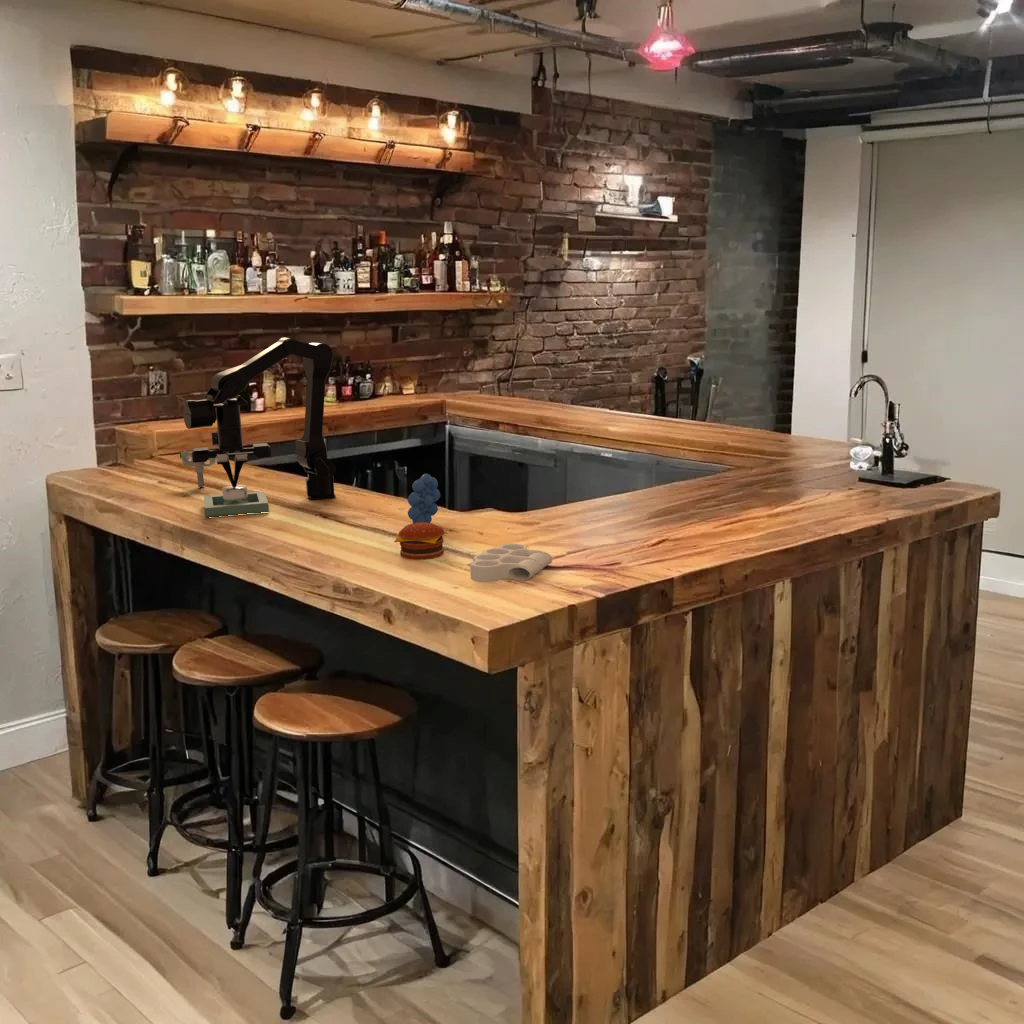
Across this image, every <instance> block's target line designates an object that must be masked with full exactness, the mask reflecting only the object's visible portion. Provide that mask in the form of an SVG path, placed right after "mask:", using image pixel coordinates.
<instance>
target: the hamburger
mask: <svg viewBox="0 0 1024 1024" xmlns="http://www.w3.org/2000/svg"><path fill="white" fill-rule="evenodd" d="M445 534H447V535H448V534H449V533H448V532H447V531H444V529H443V528H442V527H441V526H439V525H437V524H436V523H432V522H430V523H426V522H420V523H413V522H412V523H410V524H407V525H405V526H404V527H403V528H401V530H399V532H398V535H397V537H396V538H395V540H393V541H394V543H399V546H400V551H399V554H400V557H402V558H404V559H408V560H415V561H420V560H421V561H424V560H425V561H426V560H431V559H436V558H440V557H442V556H443V555H444V553H445V548H444V541H445V538H444V537H443V536H444V535H445Z"/></svg>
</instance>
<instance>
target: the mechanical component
mask: <svg viewBox="0 0 1024 1024" xmlns="http://www.w3.org/2000/svg"><path fill="white" fill-rule="evenodd" d="M179 458H180V459H181V461H182V465H183V466H185V467H194V472H195V473H196V479H197V488H198V487H203V486H204V487H205V481H204V472H205V467H210V466H212V465H215V463H217V459H216V458H209V459H208V460H207V461H209V463H207V462H197V463H193V459H192V450H185V451H181V452H179ZM204 487H203V488H204Z"/></svg>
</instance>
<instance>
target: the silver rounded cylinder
mask: <svg viewBox="0 0 1024 1024" xmlns="http://www.w3.org/2000/svg"><path fill="white" fill-rule="evenodd" d="M221 490H222V495H223V504H224V505H228V504H240V503H248V493H249V492H248V486H247V485H244V484H237V485H236V487H232V485H226V486H223V487H222V488H221Z"/></svg>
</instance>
